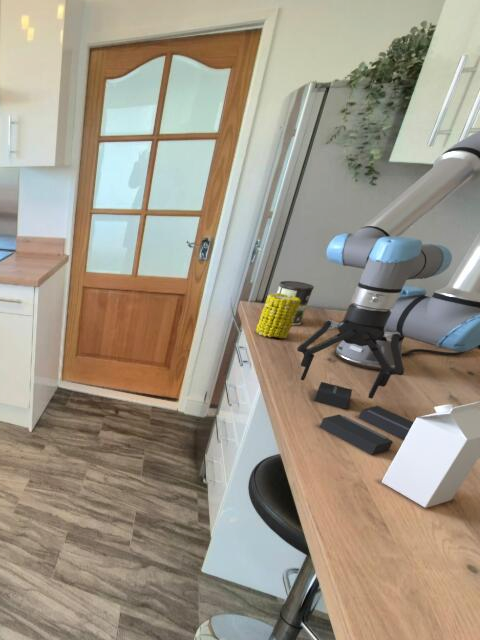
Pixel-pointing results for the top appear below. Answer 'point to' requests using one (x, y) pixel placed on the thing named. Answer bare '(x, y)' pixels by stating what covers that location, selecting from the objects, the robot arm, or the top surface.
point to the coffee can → (297, 291)
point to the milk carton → (437, 455)
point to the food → (278, 315)
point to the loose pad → (333, 395)
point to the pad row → (364, 435)
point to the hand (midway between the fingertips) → (335, 387)
